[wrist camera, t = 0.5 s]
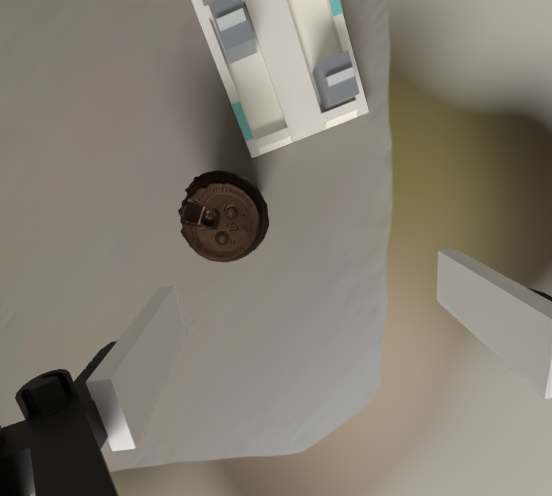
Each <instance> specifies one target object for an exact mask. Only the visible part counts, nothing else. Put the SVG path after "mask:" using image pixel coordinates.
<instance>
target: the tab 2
mask: <svg viewBox="0 0 552 496" xmlns="http://www.w3.org/2000/svg"><path fill="white" fill-rule="evenodd" d="M312 74H313V77H314V81H315V84H316V87H317V91H318V94H319V97H320V100H321V104H322V107H323V110H326V109H328V108H331V107H333V106H336V105H338V104H341V103H343V102H346V101H348V100H350V99H352V98H353V97H355V96H356V95H358V94H359V93H360V92H359V88H358V85H357V81H356V77H355V74H354V70H353V66H352V62H351V59H350V55H349V51H348V50H347V51H344V52H342V53H340V54H337V55H335V56H332V57H330V58H328V59H325V60H323V61H320V62H318V64H317V66H316V68H315V70H314V71H313V73H312Z"/></svg>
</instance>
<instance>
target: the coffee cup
mask: <svg viewBox="0 0 552 496" xmlns="http://www.w3.org/2000/svg"><path fill="white" fill-rule="evenodd" d="M185 191H186V192H187V196H186V198H185V199H184V200H183V201H182V207H181V208H180V209H179V210H178V211H179V215H180V216H181V224H182V226H183V227H182V230H181V233H182V235H183V237H184V238H185V239H186V241H187V242H188V243H189V246H190V247H191V248H192V249H194V250H195V252H196V253H197V254H199V255H200V256H202V257H204V258H206V259H208V260H211V261H217V262H218V261H219V262H229V261H235V260H238V259H241V258H243V257H245V256H247V255H248V254H249V253H251V252H252V251H253V250H255V249H256V248H257V247H258V246H259V244H260V243H261V242H262V241H263V239H264V238H265V235H266V233H267V230H268V226H269V219H268V209H267V204H266V203H265V201H264V199H263V197H262V195H261V193H260V192H259V190H258V188H257V186H256V185H255V184H254V183H253V182H252V181H251V180H250V179H249V178H246V177H243V176H238V175H236V174H233V173H230V172H226V171H211V172H207V173H203V174H201V175H200V176H199V177H195V178H194V181H193V182H192V183H191V184H190V185H189V187H188V188H187V189H185Z"/></svg>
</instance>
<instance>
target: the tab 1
mask: <svg viewBox="0 0 552 496" xmlns="http://www.w3.org/2000/svg"><path fill="white" fill-rule="evenodd" d="M208 5H209V8H210V11H211V13H212V16H213V19H214V21H215V24H216V27H217V30H218V32H219V35H220V38H221V40H222V43H223V46H224V48H225V51H226V53H227V56H228V58H229V60H230V62H231V63H233V62H236V61H238V60H240V59H243V58H245V57H248V56H250V55H252V54H255V53H257V51H256V44H255V37H254V34H253V32H252V29H251V26H250V23H249V20H248V17H247V14H246V11H245V8H244V5H243V2H242V0H215V1H213V2H211V3H209V4H208Z"/></svg>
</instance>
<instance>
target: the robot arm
mask: <svg viewBox="0 0 552 496" xmlns="http://www.w3.org/2000/svg"><path fill="white" fill-rule="evenodd" d="M437 277H438V278H437V301H438V302H439V303H440V304H441V305H442V306H443V307H444V308H445V309H446V310H448V311H449V312H450V313H451V314H452V315H453V316H454V317H455V318H456V319H457V320H459V321H460V322H461V323H462V324H463V325H464V326H465V327H466V328H467V329H469V330H470V331H471V332H472V333H473V334H474V335H475V336H476V337H477V338H478V339H480V340H481V341H482V342H483V343H484V344H485V345H486V346H487V347H488V348H489V349H491V350H492V351H493V352H494V353H495V354H496V355H497V356H498V357H499V358H501V359H502V360H503V361H504V362H505V363H506V364H507V365H508V366H509V367H510V368H511V369H513V370H514V371H515V372H516V373H517V374H518V375H519V376H520V377H521V378H523V379H524V380H525V381H526V382H527V383H528V384H529V385H530V386H531V387H532V388H533V389H535V390H536V391H537V392H538V393H539V394H540V395H541V396H542V397H543V398H544V399H546V398H552V297H551V296H549V295H547V294H545V293H543V292H540V291H536V290H533V289H530V288H525V287H524V286H522V285H520V284H518V283H516V282H515V281H513V280H511V279H509V278H507V277H505V276H503V275H502V274H500V273H498V272H496V271H494V270H492V269H491V268H489V267H487V266H485V265H483V264H481V263H480V262H478V261H476V260H474V259H472V258H470V257H469V256H467V255H465V254H463V253H461V252H459V251H457V250H456V249H446V250H440V251H438V275H437ZM186 333H187V331H186V328H185V324H184V320H183V316H182V312H181V308H180V304H179V300H178V296H177V292H176V288H175V285H171V286H163V287H159V288H158V290H157V291H156V292H155V294H154V295H153V296H152V297H151V299H150V300H149V301H148V303H147V304H146V305H145V306H144V308H143V309H142V310H141V312H140V313H139V314H138V315H137V317H136V318H135V319H134V321H133V322H132V323H131V324H130V326H129V327H128V328H127V329H126V331H125V332H124V333H123V335H122V336H121V337H120V338H119V340H118V341H116V342H111V343H109V344H108V345H107V346H105V347H104V348H103V349H101V350H100V351H99V352H98V353H97V355H96V356H95V357H94V358H93V359H92V361H91V362H90V363H89V364H88V365H87V367H86V369H84V370H83V371H82V373H81V374H80V375H79V376H78V377H77V379H76V380H75V381H74V382H73V380H72V378H71V375H70V373H69V372H68V371H67V370H64V369H58V370H53V371H49V372H47V373H44V374H41V375H39V376H37V377H36V378H34V379H32V380H30V381H29V382H28V383H26V384H25V385H24V386H22V388H21V389H20V390H19V391H18V392H17V394H16V397H15V399H16V401H17V403H18V405H19V407H20V409H21V411H22V413H23V415H24V417H25V419H26V420H24V421H21V422H18V423H15V424H12V425H9V426H6V427H3V428H1V426H0V496H30V494H32V493H35V494H36V496H119V495H118V493H117V490H116V487H115V485H114V482H113V480H112V477H111V475H110V472H109V470H108V467H107V464H106V462H105V459H104V457H103V454H102V452H101V448H102V446H103V444H104V442H105V440H106V439H107V438H108V441H109V444H110V446H111V449H112V451H119V450H127V449H135V448H136V447H137V445H138V442H139V440H140V438H141V435H142V433H143V431H144V429H145V426H146V424H147V422H148V420H149V417H150V415H151V413H152V410H153V408H154V406H155V404H156V401H157V399H158V397H159V395H160V392H161V390H162V388H163V385H164V383H165V381H166V379H167V376H168V374H169V372H170V370H171V367H172V365H173V363H174V361H175V358H176V356H177V354H178V351H179V349H180V347H181V345H182V342H183V340H184V338H185V336H186Z"/></svg>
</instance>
